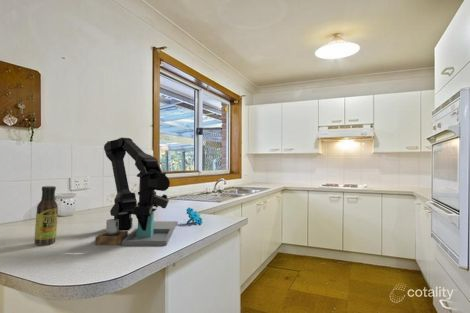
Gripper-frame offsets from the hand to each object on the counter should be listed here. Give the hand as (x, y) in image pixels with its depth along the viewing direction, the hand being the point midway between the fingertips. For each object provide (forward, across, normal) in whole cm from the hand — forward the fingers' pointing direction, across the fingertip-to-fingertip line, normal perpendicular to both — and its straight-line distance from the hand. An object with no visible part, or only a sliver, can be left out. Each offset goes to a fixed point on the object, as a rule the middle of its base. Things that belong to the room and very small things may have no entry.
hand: (145, 228), depth 109 cm
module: (+2, 0, 0) cm, 2 cm away
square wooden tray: (+3, -8, +10) cm, 13 cm away
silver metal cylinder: (+3, -8, +10) cm, 13 cm away
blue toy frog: (+3, +23, -18) cm, 29 cm away
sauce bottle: (+3, -9, +32) cm, 33 cm away
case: (+3, +5, -2) cm, 6 cm away
